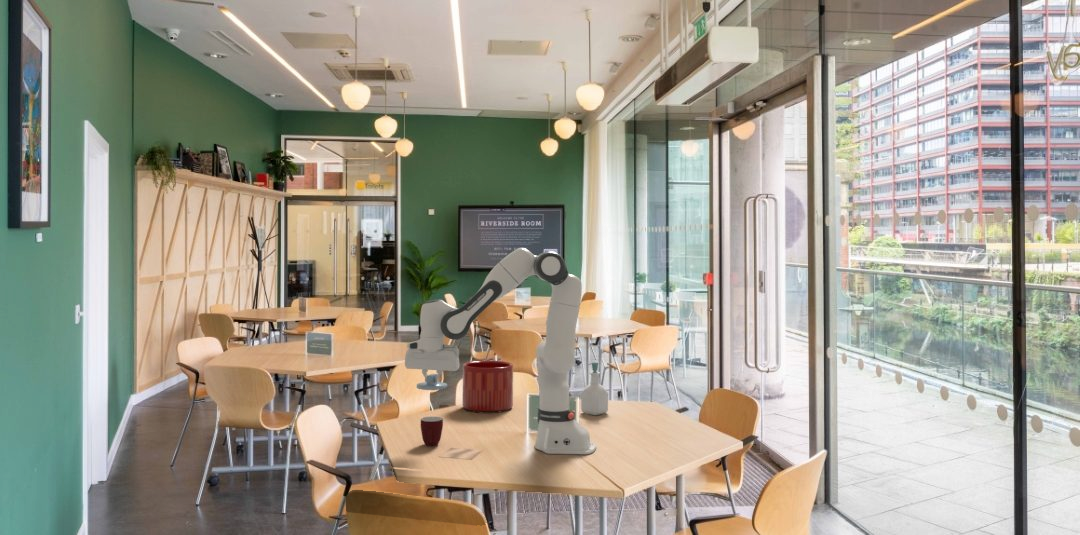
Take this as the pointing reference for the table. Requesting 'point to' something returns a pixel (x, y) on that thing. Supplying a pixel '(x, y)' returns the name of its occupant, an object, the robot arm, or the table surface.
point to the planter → (487, 386)
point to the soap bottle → (594, 395)
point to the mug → (431, 430)
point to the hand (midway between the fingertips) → (432, 382)
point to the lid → (431, 384)
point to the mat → (461, 453)
